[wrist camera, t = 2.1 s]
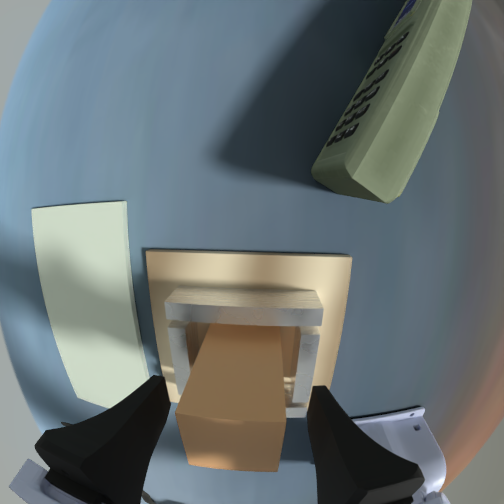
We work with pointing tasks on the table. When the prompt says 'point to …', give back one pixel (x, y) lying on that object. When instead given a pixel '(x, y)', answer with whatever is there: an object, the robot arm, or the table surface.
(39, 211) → the mat
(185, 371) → the grey square ring
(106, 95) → the table surface
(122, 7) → the table surface
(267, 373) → the plug
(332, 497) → the robot arm
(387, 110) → the handheld radio
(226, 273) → the base plate
